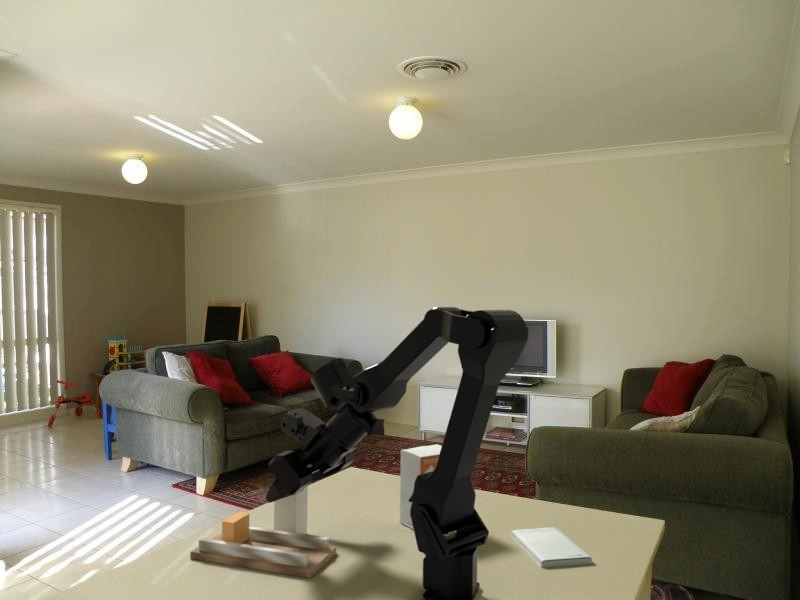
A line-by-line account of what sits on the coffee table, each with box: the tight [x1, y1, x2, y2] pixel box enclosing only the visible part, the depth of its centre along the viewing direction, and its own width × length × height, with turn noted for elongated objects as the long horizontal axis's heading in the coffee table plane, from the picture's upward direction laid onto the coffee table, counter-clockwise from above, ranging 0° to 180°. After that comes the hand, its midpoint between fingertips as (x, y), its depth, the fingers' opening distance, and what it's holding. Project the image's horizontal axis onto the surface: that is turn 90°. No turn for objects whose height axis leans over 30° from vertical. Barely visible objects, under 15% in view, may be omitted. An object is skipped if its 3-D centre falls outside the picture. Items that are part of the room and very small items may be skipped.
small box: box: [399, 443, 442, 531], centre depth 110 cm, size 8×6×13 cm
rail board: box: [189, 525, 337, 579], centre depth 96 cm, size 20×9×3 cm, turn 72°
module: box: [273, 485, 309, 534], centre depth 104 cm, size 4×4×10 cm
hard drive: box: [510, 526, 593, 569], centre depth 100 cm, size 2×8×12 cm
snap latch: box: [221, 511, 250, 544], centre depth 98 cm, size 2×4×4 cm, turn 162°
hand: (283, 492), depth 105 cm, fingers open, 9 cm apart
